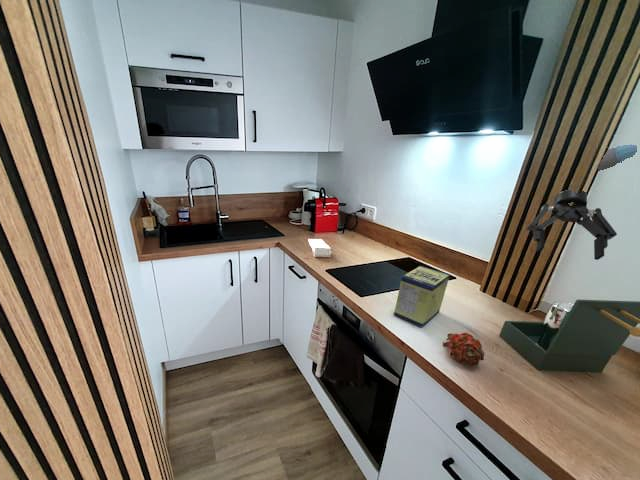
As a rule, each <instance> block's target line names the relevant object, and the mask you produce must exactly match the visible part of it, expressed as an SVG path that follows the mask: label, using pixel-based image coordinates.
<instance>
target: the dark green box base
mask: <svg viewBox="0 0 640 480" xmlns="http://www.w3.org/2000/svg"><path fill="white" fill-rule="evenodd" d="M543 324H544V321H525V320H504V322H503V325H502V327H501V330H500V332H499V335H498V336H499V338H500V339H502V340H503V341H504V342H505V343H506V344H507V345H509V346H510V348H512V349H513V350H515V351H516V352H517V353H518V354H519V355H520V356H521V357H523V359H525V361H527V362H528V363H529V364H530V365H532V367H534V368H535V369H536V370H537V371H547V372H549V371H551V372H581V373H582V372H583V373H603V371H604V370H605V369H606V367H607V365H608V363H609V362H610V360H611V359H612V357H613V355H593V354H560V353H548V352H547V351H545V350H544V349H543V348H542V347H540V346H539V345H538V344H536V342H537V341H538V339H539V338H540V336H541V334H542V329H543Z"/></svg>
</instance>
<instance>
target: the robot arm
mask: <svg viewBox="0 0 640 480" xmlns="http://www.w3.org/2000/svg"><path fill="white" fill-rule="evenodd" d="M636 152H637V146H636V145H632V144H631V145H623V146H617V147H616V148H612V149H609V150H608V151H607V152H606V154H605V155H604V156H603V159H602V160H601V162H600V165H599V167H598V171H600V170H604V169H607V168H610V167H613V166H615V165H616V164H617V163H620V162H621V163H622V161H624V160H625V159H627V158H630V157H633V155H635V153H636ZM587 193H588V192H587ZM587 193H586V192H584V191H582V192H580V193H576V192H574V191H573V190H565V191H562V192H560V193H558V194H557V195H556V196H555V198H554V197H553V201H554V203H552V204H553V206H552V205H550V204H549V203H545V204H544V205H543V206H541V208H540V210H539V213H538V215H537V216H535V218H534V219H533V220H532V221H531V222H530V223H529V225H528V226H527V227H526V230H527V231H532V234H533V241H534V242H536V252H537V253H540V252H541V251H542V250H544V249H545V239H546V228H547V227H549V226H550V225H552V224H553V223H555V222H557V221H559V220H560V221H561V222H568V223H576V224H577V225H580V226H582V227H583V228H584V229H585V230H586V231H588V232H589V234H591V235H592V236H593V237H594V238H595V239H594V240H593V254H594V255H593V256H594V259H593V260H595V261H598V260H600V259H601V258H603V257H605V249H606V248H607V247H608V246H609V243H608V241H610V240H612V239H613V238H614V237H616V236H617V235H618V233H617V232H616V230H615V229H614V228H613V227H612V225H611V224H610V222H609V221H608V220H607V218H606V217H605V216H604V215H603V212H602V209H601V208H600V207H596V208H595V209H588V207H587V205H588V194H587ZM571 202H574V203H576V205H574V206H570V205H569V204H568V203H571ZM549 212H551V213H552V214H553V216H550V217H549V218H548V219H546V220H545V221H543V222H542V223H540V224H539V225H537V224H538V223H539V222H540V220H541V219H542V218H544V216H545V214H548V213H549Z"/></svg>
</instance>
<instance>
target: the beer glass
mask: <svg viewBox="0 0 640 480" xmlns="http://www.w3.org/2000/svg"><path fill="white" fill-rule="evenodd" d="M573 305H574V303H571V302H566V301H561V300H556V301H553V302H552V304H551V306H550V308H549V309H548V311H547V313H546V314H545V317H544V319H543V322H544V324H543V329H542V334H541V336H540V338H539V339H538V341H537V342H536V344H538V345H539V346H540V347H542V348H543V349H544V350H545V351H547V349H548V347H549V346H550V344H551V342H552V341H553V339H554V337H555V336H556V334H557V332H558V330H559V329H560V327H561V325H562V324H563V322H564V320H565V319H566V317H567V315H568V314H569V312H570V310H571V308H572V307H573Z"/></svg>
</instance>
